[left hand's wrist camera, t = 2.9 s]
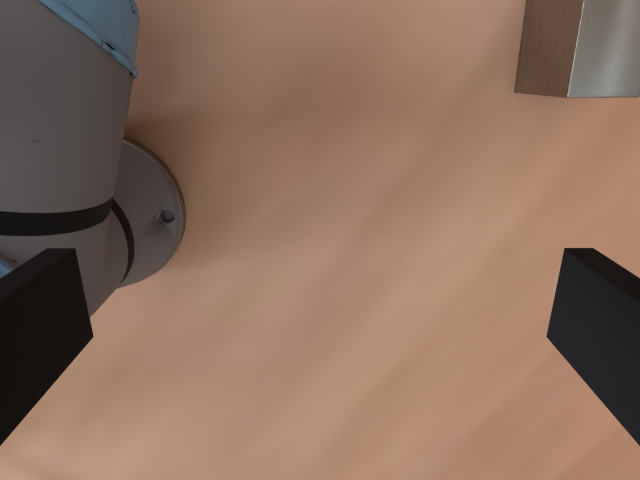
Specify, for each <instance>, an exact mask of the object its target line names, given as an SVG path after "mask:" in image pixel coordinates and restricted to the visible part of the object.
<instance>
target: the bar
mask: <svg viewBox="0 0 640 480" xmlns="http://www.w3.org/2000/svg"><path fill="white" fill-rule="evenodd" d="M515 93H525V94H534V95H544V96H553V97H563V98H608V97H639V94H640V0H527V2H526V10H525V17H524V25H523V33H522V40H521V48H520V55H519V63H518V71H517V78H516V86H515Z"/></svg>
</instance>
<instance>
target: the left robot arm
mask: <svg viewBox="0 0 640 480" xmlns="http://www.w3.org/2000/svg"><path fill="white" fill-rule="evenodd" d="M138 30H139V12H138V8H137V5H136V3H135V1H134V0H0V446H1V444H2V443H3V442H4V441H5V440H6V439H7V437H8V436H9V435H10V434H11V433H12V431H13V430H14V429H15V428H16V427H17V426H18V424H19V423H20V422H21V421H22V420H23V419H24V417H25V416H26V415H27V414H28V413H29V412H30V410H31V409H32V408H33V407H34V406H35V405H36V403H37V402H38V401H39V400H40V399H41V398H42V396H43V395H44V394H45V393H46V392H47V391H48V389H49V388H50V387H51V386H52V385H53V383H54V382H55V381H56V380H57V379H58V378H59V376H60V375H61V374H62V373H63V372H64V371H65V369H66V368H67V367H68V366H69V365H70V364H71V362H72V361H73V360H74V359H75V358H76V357H77V355H78V354H79V353H80V352H81V351H82V350H83V348H84V347H85V346H86V345H87V344H88V343H89V341H90V340H91V339H92V338H93V332H92V327H91V322H90V317H91V316H92V315H93V314H94V313H95V311H96V310H97V309H98V308H99V307H100V306H101V305H102V304H103V303H104V302H105V301H106V300H107V298H108V297H109V296H110V295H111V294H112V293H113V292H114V291H115V290H116V289H118V288H121V287H124V286H127V285H130V284H133V283H137V282H139V281H142V280H144V279H146V278H147V277H149V276H151V275H152V274H154V273H156V272H157V271H158V270H160V269H161V268H162V267H163V266H164V265H165V264H166V263H167V261H168V260H169V259H170V258H171V257H172V255H173V254H174V253H175V251H176V250H177V248H178V246H179V244H180V242H181V239H182V236H183V232H184V227H185V207H184V201H183V198H182V194H181V192H180V189H179V186H178V184H177V182H176V180H175V179H174V177H173V175H172V174H171V172H170V171H169V170H168V168H167V167H166V166H165V165H164V164H163V162H162V161H161V160H160V159H159V158H158V157H157V156H155V155H154V154H153V153H152V152H151V151H149V150H148V149H146V148H145V147H143V146H142V145H140V144H138V143H136V142H135V141H132V140H130V139H128V138H125V137H123V136H124V131H125V125H126V119H127V113H128V107H129V101H130V95H131V89H132V83H133V78H136V77H137V68H136V66H135V57H136V48H137V39H138ZM547 338H548V339H549V340H550V341H551V343H552V344H553V345H554V346H555V347H556V348H557V350H558V351H559V352H560V353H561V354H562V355H563V357H564V358H565V359H566V360H567V361H568V362H569V364H570V365H571V366H572V367H573V368H574V369H575V371H576V372H577V373H578V374H579V375H580V376H581V378H582V379H583V380H584V381H585V382H586V383H587V385H588V386H589V387H590V388H591V389H592V391H593V392H594V393H595V394H596V395H597V396H598V398H599V399H600V400H601V401H602V402H603V403H604V405H605V406H606V407H607V408H608V409H609V410H610V412H611V413H612V414H613V415H614V416H615V417H616V419H617V420H618V421H619V422H620V423H621V424H622V426H623V427H624V428H625V429H626V430H627V431H628V433H629V434H630V435H631V436H632V437H633V439H634V440H635V441H636V442H637V443H638V444H639V446H640V278H638V277H637V276H635V275H634V274H632V273H631V272H629V271H628V270H626V269H625V268H623V267H621V266H620V265H618V264H617V263H615V262H614V261H612V260H611V259H609V258H608V257H606V256H604V255H603V254H601V253H600V252H598V251H597V250H595V249H594V248H564V253H563V258H562V263H561V268H560V273H559V278H558V283H557V288H556V293H555V298H554V303H553V307H552V312H551V317H550V322H549V327H548V332H547Z"/></svg>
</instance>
